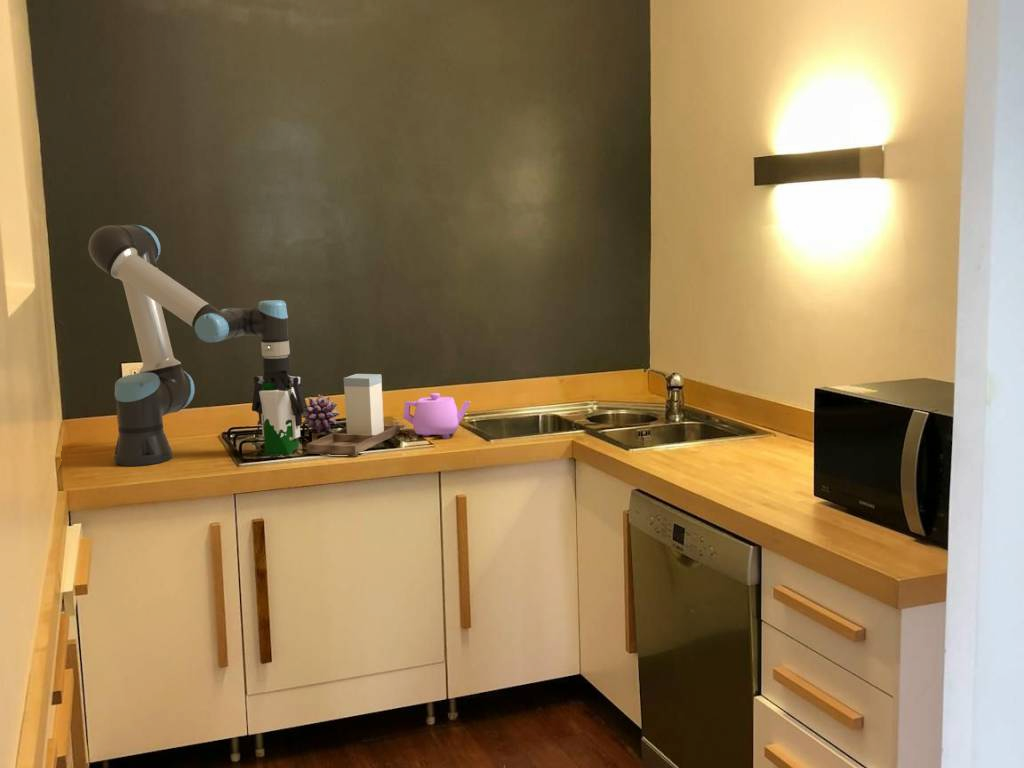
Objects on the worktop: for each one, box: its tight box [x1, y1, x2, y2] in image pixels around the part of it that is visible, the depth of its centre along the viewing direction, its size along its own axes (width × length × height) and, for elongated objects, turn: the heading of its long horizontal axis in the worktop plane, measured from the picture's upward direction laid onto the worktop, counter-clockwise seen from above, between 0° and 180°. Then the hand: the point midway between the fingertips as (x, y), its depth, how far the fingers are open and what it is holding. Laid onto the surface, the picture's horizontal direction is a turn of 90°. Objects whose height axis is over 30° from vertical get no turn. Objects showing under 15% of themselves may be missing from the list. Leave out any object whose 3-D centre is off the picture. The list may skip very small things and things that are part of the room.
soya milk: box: [259, 381, 300, 456], centre depth 295 cm, size 9×9×20 cm
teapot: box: [402, 392, 471, 440], centre depth 311 cm, size 20×12×13 cm, turn 88°
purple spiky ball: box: [302, 394, 340, 434], centre depth 320 cm, size 12×12×12 cm
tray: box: [305, 424, 401, 458], centre depth 303 cm, size 15×29×3 cm, turn 162°
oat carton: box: [343, 373, 385, 435], centre depth 308 cm, size 8×8×18 cm
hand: (281, 436), depth 296 cm, fingers closed on soya milk, 9 cm apart
